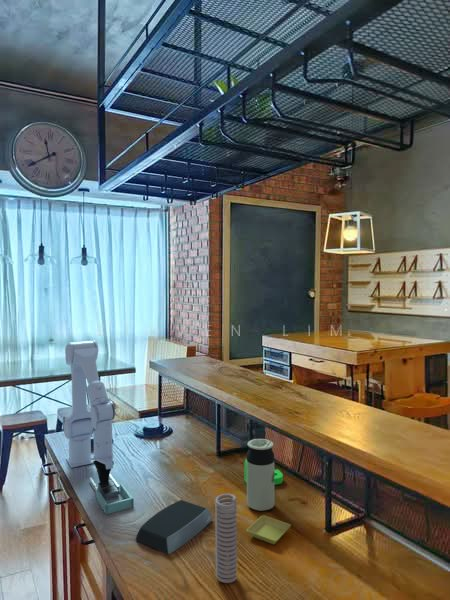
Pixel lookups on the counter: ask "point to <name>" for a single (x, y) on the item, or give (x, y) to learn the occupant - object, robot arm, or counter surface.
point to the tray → (118, 505)
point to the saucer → (268, 529)
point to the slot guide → (109, 479)
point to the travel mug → (260, 474)
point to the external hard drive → (174, 526)
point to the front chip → (110, 492)
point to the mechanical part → (277, 475)
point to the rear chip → (105, 485)
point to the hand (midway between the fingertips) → (103, 483)
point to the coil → (226, 538)
